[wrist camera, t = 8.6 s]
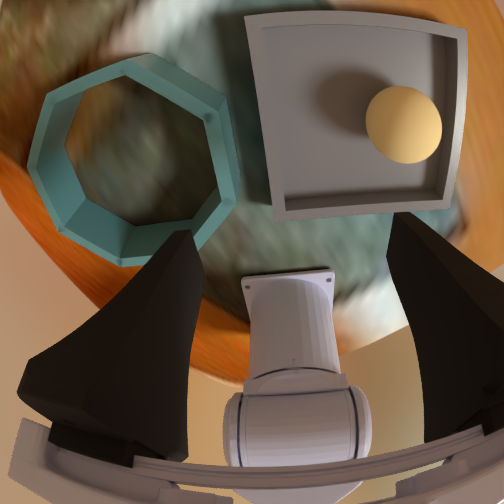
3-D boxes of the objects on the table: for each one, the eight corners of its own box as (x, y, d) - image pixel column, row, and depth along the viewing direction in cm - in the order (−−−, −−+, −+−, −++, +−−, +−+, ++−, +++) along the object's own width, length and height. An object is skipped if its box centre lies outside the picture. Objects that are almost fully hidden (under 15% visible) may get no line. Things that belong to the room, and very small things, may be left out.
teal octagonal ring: (249, 221, 22) (247, 255, 20) (98, 240, 24) (81, 270, 21) (215, 37, 14) (203, 37, 11) (39, 98, 15) (7, 116, 13)
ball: (386, 141, 18) (446, 161, 15) (350, 160, 16) (420, 186, 13) (387, 77, 15) (453, 92, 12) (348, 83, 13) (429, 99, 10)
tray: (437, 194, 20) (449, 208, 18) (273, 206, 21) (274, 222, 20) (449, 27, 12) (466, 29, 10) (245, 18, 13) (243, 16, 12)
